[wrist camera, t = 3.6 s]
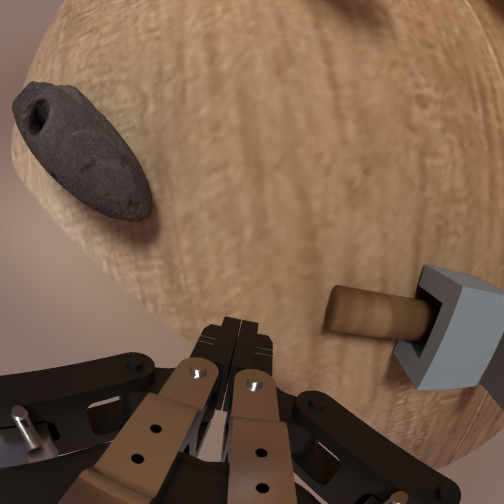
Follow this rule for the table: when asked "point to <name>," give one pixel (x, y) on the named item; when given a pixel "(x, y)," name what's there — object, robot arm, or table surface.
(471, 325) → the block
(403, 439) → the table surface
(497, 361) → the backstop wall
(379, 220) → the table surface
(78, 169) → the perforated stone tool
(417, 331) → the dowel
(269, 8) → the table surface
